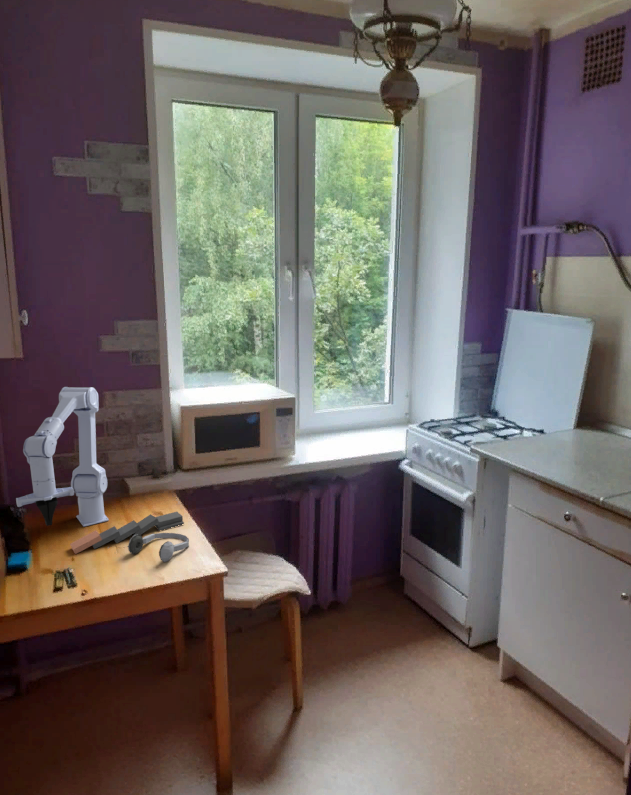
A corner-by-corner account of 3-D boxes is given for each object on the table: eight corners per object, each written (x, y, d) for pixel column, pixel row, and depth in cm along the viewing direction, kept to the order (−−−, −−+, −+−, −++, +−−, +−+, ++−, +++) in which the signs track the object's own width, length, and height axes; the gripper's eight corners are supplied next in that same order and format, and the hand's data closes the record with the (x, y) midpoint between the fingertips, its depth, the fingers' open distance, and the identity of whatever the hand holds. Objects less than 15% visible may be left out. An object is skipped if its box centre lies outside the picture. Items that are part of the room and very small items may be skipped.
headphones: (154, 570, 161) (199, 550, 180) (155, 549, 161) (200, 531, 179) (105, 558, 169) (153, 539, 187) (105, 537, 168) (153, 521, 186)
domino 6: (154, 523, 190) (178, 517, 195) (154, 528, 191) (179, 522, 195) (159, 528, 187) (183, 522, 191) (159, 533, 187) (184, 526, 191)
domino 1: (69, 543, 176) (96, 529, 180) (72, 548, 177) (98, 534, 180) (73, 549, 172) (99, 535, 176) (75, 554, 173) (101, 539, 177)
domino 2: (88, 539, 179) (114, 526, 183) (90, 543, 180) (116, 530, 183) (92, 544, 175) (118, 531, 179) (94, 549, 176) (120, 535, 179)
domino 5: (153, 517, 191) (177, 511, 195) (153, 522, 191) (177, 516, 196) (158, 522, 187) (182, 516, 192) (158, 527, 188) (182, 520, 192)
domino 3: (109, 534, 182) (133, 520, 186) (111, 538, 183) (135, 524, 187) (114, 539, 179) (139, 525, 183) (116, 543, 179) (140, 529, 183)
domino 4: (128, 529, 185) (150, 514, 190) (130, 533, 186) (152, 518, 190) (134, 533, 182) (157, 518, 187) (136, 537, 183) (159, 522, 187)
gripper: (16, 488, 159) (23, 536, 162) (74, 477, 167) (79, 522, 170) (12, 480, 165) (18, 526, 168) (68, 470, 173) (73, 514, 176)
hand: (48, 524), depth 170 cm, fingers closed
